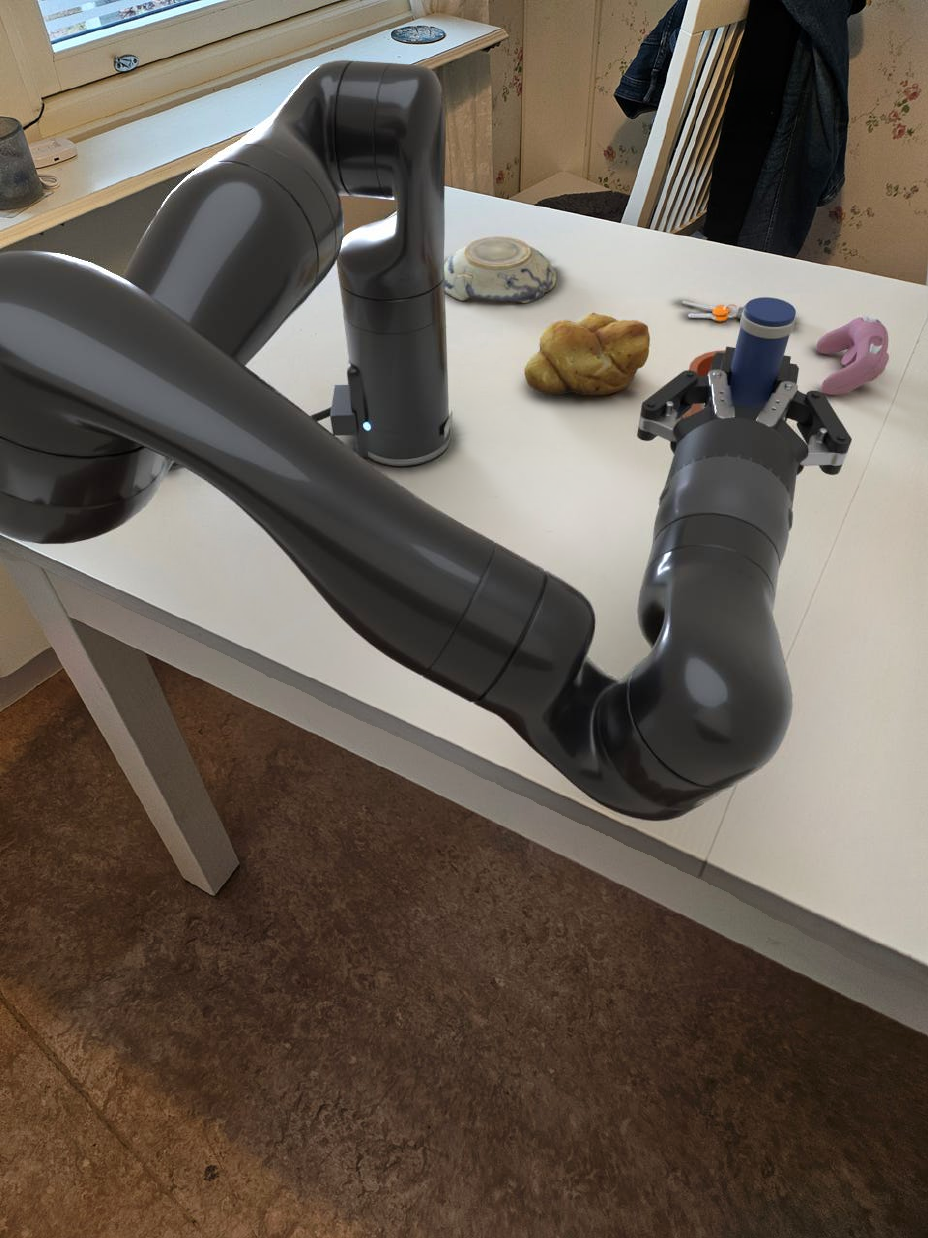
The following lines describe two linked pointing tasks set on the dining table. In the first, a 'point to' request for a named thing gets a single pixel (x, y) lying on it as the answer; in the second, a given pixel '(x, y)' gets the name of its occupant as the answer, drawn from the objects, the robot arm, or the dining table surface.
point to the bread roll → (588, 356)
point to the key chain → (716, 311)
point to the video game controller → (855, 354)
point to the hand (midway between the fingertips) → (755, 363)
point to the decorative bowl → (498, 271)
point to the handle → (760, 350)
